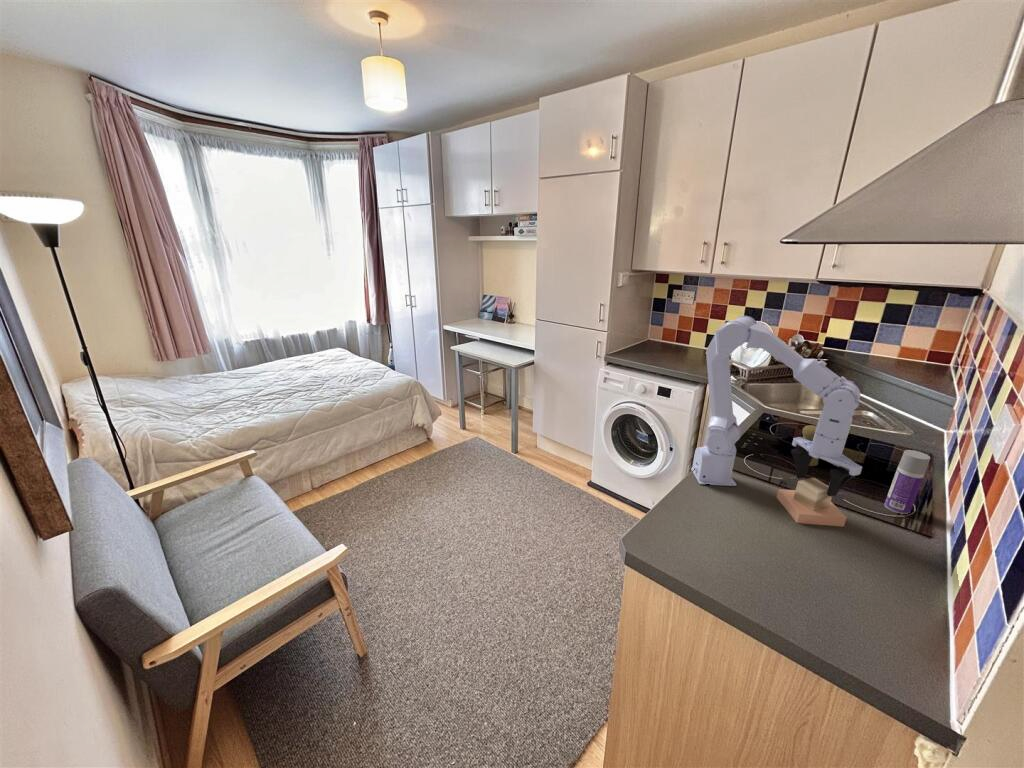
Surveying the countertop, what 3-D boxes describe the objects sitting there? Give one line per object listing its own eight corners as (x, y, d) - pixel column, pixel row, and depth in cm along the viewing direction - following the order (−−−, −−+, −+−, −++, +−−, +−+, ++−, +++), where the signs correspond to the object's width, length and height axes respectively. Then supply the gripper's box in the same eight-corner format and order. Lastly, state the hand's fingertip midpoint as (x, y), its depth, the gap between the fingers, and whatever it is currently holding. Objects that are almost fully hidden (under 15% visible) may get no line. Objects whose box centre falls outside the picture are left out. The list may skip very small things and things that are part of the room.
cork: (810, 456, 124) (819, 423, 120) (822, 466, 118) (832, 432, 114) (789, 455, 124) (797, 422, 120) (800, 465, 118) (809, 431, 115)
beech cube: (812, 510, 95) (818, 492, 93) (793, 498, 99) (798, 481, 98) (828, 507, 96) (834, 488, 95) (808, 495, 101) (813, 477, 99)
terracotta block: (796, 524, 95) (799, 513, 94) (776, 499, 104) (778, 489, 103) (843, 528, 94) (846, 517, 93) (818, 502, 103) (821, 492, 102)
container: (915, 514, 97) (937, 459, 92) (895, 514, 97) (916, 459, 92) (897, 502, 102) (917, 449, 97) (878, 502, 102) (898, 449, 97)
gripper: (788, 423, 97) (775, 472, 102) (851, 452, 84) (833, 507, 89) (810, 419, 99) (797, 468, 104) (875, 447, 86) (857, 501, 91)
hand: (815, 485), depth 96 cm, fingers open, 7 cm apart
